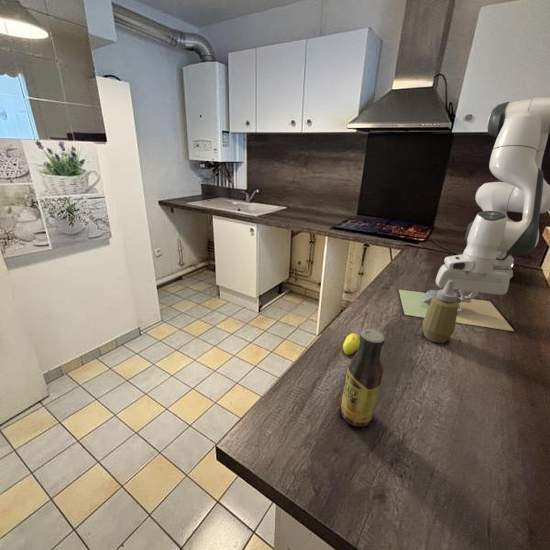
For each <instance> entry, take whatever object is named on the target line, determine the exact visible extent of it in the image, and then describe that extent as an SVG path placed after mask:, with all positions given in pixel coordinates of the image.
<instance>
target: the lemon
mask: <svg viewBox="0 0 550 550" xmlns="http://www.w3.org/2000/svg"><path fill="white" fill-rule="evenodd" d="M359 338H360V335H359V334H357V333H356V332H355V333H354V332H352V333H350V334H349V335H347V336H346V338H345V340H344V342H343V344H342V351H343V352H344V354H345V355H348V356H350V355H352V354H354V353H356V352H357V351H358V349H359V344H360V339H359Z"/></svg>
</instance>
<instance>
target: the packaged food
mask: <svg viewBox="0 0 550 550" xmlns="http://www.w3.org/2000/svg"><path fill="white" fill-rule="evenodd" d="M424 293H425V294H424V295H426V298H425V299H423V300H422V301H421V302H424V303H426V304H427V305H430V302H431V300H432V298H433V297H435V296H437V293H438V290H437V289H429V290H427V291H426V292H424ZM456 302H457V303H458V311H461V308H460V307H461V306H460V305H459V303H461V301H460V298H459V296H457V298H456Z"/></svg>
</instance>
